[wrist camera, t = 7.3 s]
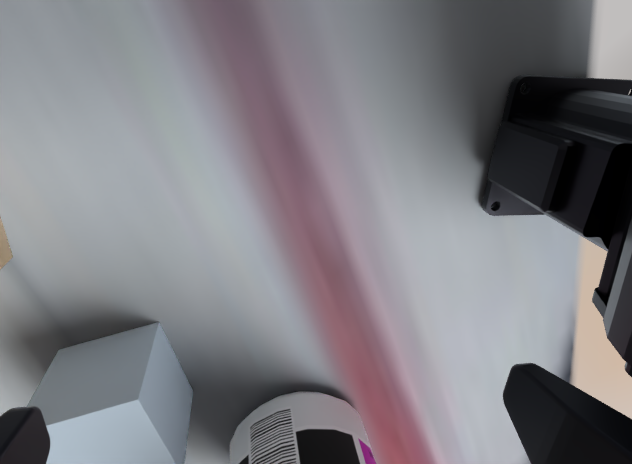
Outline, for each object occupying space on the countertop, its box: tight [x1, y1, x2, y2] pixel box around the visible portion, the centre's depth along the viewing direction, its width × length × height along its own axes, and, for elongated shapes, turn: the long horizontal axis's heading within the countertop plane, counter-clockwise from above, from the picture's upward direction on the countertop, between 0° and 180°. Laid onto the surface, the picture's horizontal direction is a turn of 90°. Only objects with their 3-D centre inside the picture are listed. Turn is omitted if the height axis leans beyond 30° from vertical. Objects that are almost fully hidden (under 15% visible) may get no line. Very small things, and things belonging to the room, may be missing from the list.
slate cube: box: [27, 322, 193, 464], centre depth 20 cm, size 5×5×5 cm
